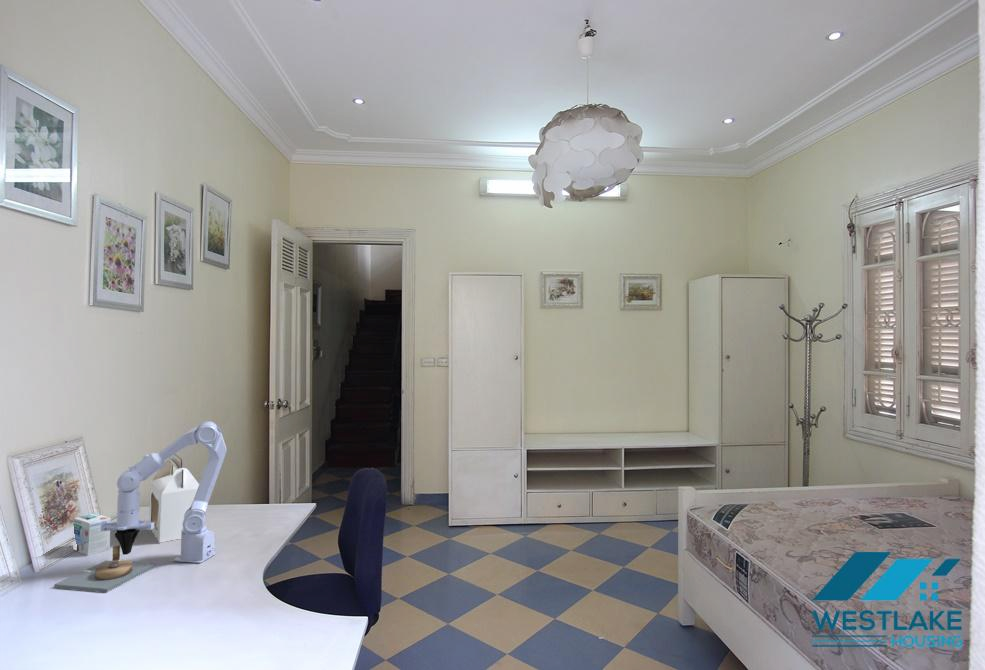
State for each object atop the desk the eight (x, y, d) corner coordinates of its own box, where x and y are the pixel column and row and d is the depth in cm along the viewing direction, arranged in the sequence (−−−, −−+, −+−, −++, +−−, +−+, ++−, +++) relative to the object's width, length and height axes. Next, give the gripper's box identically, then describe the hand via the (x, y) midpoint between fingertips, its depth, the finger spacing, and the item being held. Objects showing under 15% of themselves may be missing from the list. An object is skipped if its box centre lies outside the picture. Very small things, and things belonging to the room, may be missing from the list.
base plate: (154, 567, 163) (154, 563, 164) (106, 592, 147) (107, 588, 147) (106, 563, 166) (106, 559, 166) (54, 587, 149) (54, 583, 149)
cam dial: (131, 575, 155) (131, 556, 155) (93, 582, 150) (94, 562, 150) (133, 560, 166) (134, 542, 166) (98, 566, 161) (98, 548, 161)
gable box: (148, 527, 200) (151, 453, 200) (188, 519, 208) (190, 449, 209) (159, 544, 183) (161, 463, 184) (201, 535, 192) (203, 458, 192)
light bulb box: (71, 550, 176) (72, 517, 177) (94, 543, 182) (95, 512, 182) (88, 556, 171) (89, 523, 172) (110, 549, 177) (111, 517, 178)
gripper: (95, 514, 159) (93, 559, 158) (146, 512, 161) (145, 557, 160) (109, 507, 166) (107, 550, 165) (158, 506, 168) (156, 548, 167)
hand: (126, 553), depth 163 cm, fingers closed
